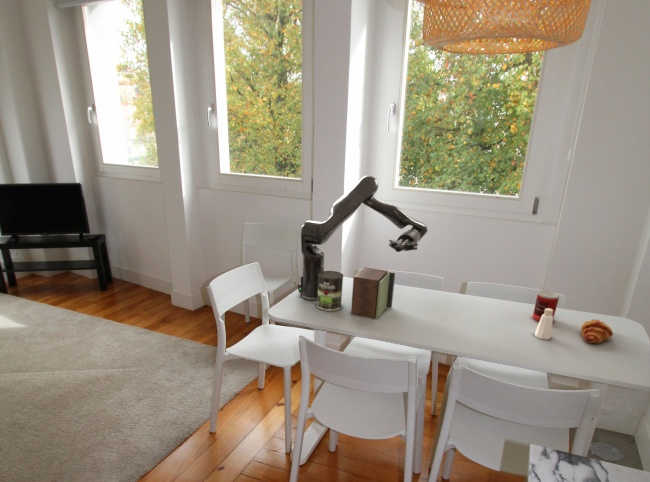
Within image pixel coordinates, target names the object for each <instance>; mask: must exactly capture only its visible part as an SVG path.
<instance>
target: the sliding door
mask: <svg viewBox="0 0 650 482" xmlns="http://www.w3.org/2000/svg"><path fill="white" fill-rule="evenodd" d="M395 279H396V272H393V271H388V274H387V275H386V276H385V277H384V278H383V279H382V280H381V281H380V282H379V286H378V297H377V308H376V318H375V319H379V317H380V316H381V315H382V314H383V313H384V311H385V310H386V309H387V308H388V309H392V307H393V299H394V291H395V290H394V289H395V282H396V281H395Z"/></svg>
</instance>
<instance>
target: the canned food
mask: <svg viewBox="0 0 650 482" xmlns="http://www.w3.org/2000/svg"><path fill="white" fill-rule="evenodd" d="M559 299H560V294H558V293H557V292H554V291H551V290H540V291H538V293H537V296H536V300H535V304H534V309H533V314H532V318H533V320H534V321H536V322H538V323H539V321H540V319H541V316H542V315H543V314H544V312H545V309H546V308H550V309H552V310H553V312H552V316H553V320H554V318H555V315H556V311H557V307H558V303H559Z"/></svg>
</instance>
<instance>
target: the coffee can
mask: <svg viewBox="0 0 650 482" xmlns="http://www.w3.org/2000/svg"><path fill="white" fill-rule="evenodd" d="M343 282H344V274H343V273H342V272H339V271H336V270H324V271H323V272H320V273H319V274H318V300H317V304H316V307H317V308H318V309H319V310H322V311H325V312H326V311H327V312H335V311H339V310H340V309H341V308H342V301H343V300H342V299H343V298H342V297H343Z"/></svg>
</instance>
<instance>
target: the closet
mask: <svg viewBox="0 0 650 482" xmlns="http://www.w3.org/2000/svg"><path fill="white" fill-rule="evenodd" d="M388 273H389V270H385V269H378V268H373V267H372V268H371V267H363V268H362V269H361V270H360V271H358V272H357V273H356V274H355V275H354V276H353V277H352V278H353V279H352V281H353V282H352V296H351V307H350V308H351V310H350V315H353V316H354V315H355V316H360V317H364V318H369V319H373V320H374V319H377V318H376V308H377V297H378V286H379V282H380V281H381V280H382V279H383V278H384V277H385V276H386V275H387V274H388Z"/></svg>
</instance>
